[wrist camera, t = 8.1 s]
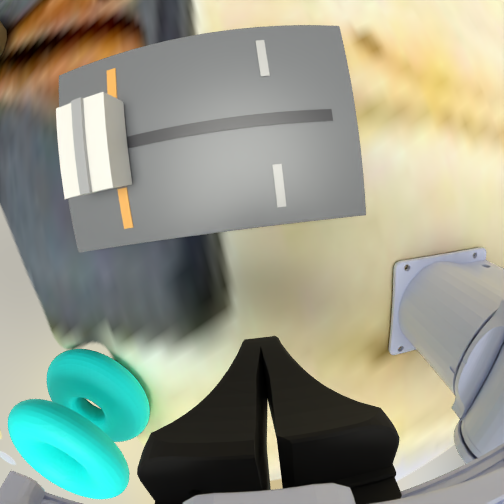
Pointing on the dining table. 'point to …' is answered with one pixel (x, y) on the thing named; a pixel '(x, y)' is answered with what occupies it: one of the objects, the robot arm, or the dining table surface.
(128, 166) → the fader
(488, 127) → the dining table surface
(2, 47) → the squeeze bottle
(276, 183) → the console
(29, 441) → the donuts
